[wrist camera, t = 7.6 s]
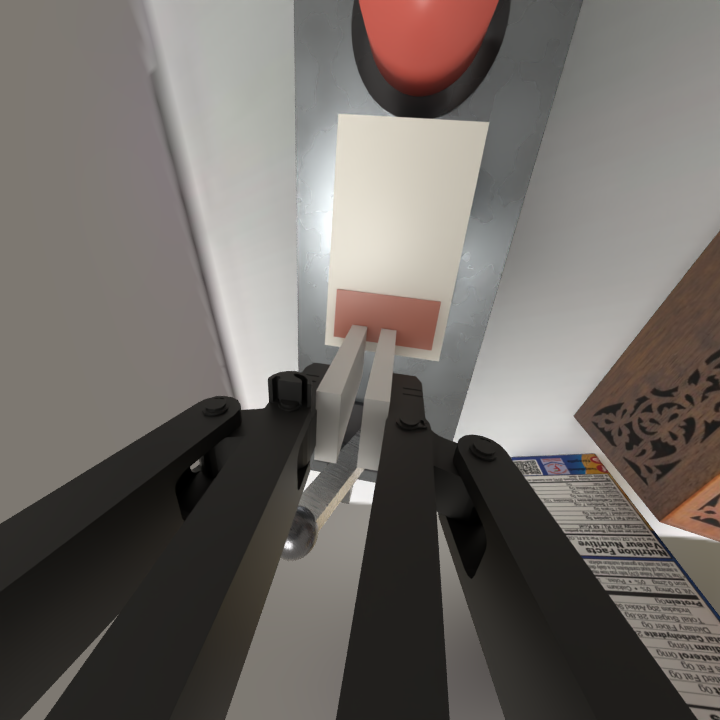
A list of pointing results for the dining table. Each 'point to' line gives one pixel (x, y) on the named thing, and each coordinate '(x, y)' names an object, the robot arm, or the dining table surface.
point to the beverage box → (634, 572)
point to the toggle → (322, 501)
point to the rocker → (399, 227)
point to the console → (457, 102)
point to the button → (425, 40)
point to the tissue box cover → (669, 405)
